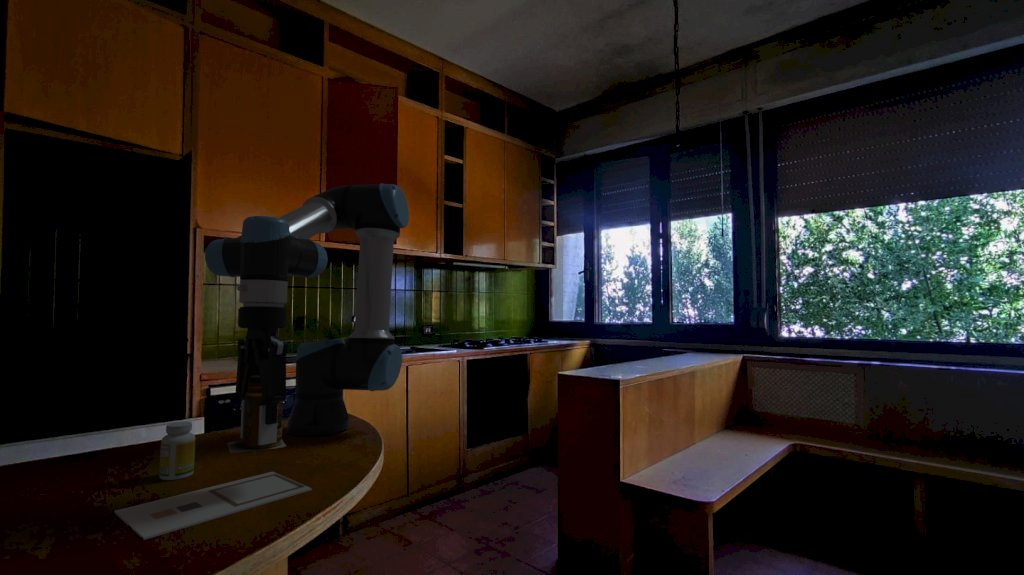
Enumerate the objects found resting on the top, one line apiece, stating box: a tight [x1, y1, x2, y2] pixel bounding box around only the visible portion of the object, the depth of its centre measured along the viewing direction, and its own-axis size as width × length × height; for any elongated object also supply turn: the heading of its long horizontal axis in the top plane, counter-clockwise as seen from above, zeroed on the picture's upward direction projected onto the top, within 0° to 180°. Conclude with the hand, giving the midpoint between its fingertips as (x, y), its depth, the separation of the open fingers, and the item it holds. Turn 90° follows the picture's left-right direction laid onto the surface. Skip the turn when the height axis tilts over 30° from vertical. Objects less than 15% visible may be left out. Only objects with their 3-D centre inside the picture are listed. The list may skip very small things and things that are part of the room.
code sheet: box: [114, 471, 313, 541], centre depth 80 cm, size 24×14×1 cm, turn 142°
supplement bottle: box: [158, 421, 196, 481], centre depth 92 cm, size 5×5×10 cm
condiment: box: [227, 375, 287, 455], centre depth 86 cm, size 7×8×12 cm
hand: (258, 439), depth 85 cm, fingers closed on condiment, 6 cm apart
